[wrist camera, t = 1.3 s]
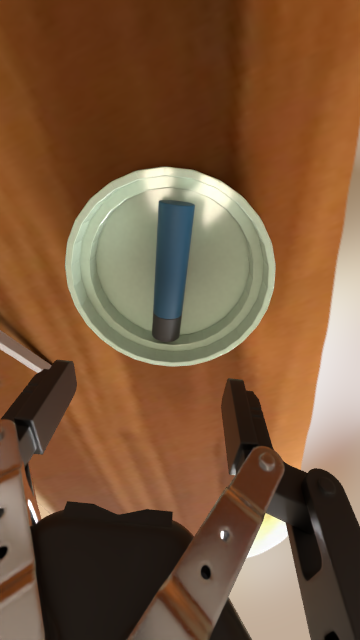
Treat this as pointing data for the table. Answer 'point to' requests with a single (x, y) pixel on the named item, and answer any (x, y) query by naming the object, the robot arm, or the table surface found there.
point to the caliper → (22, 353)
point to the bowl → (140, 258)
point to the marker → (171, 267)
